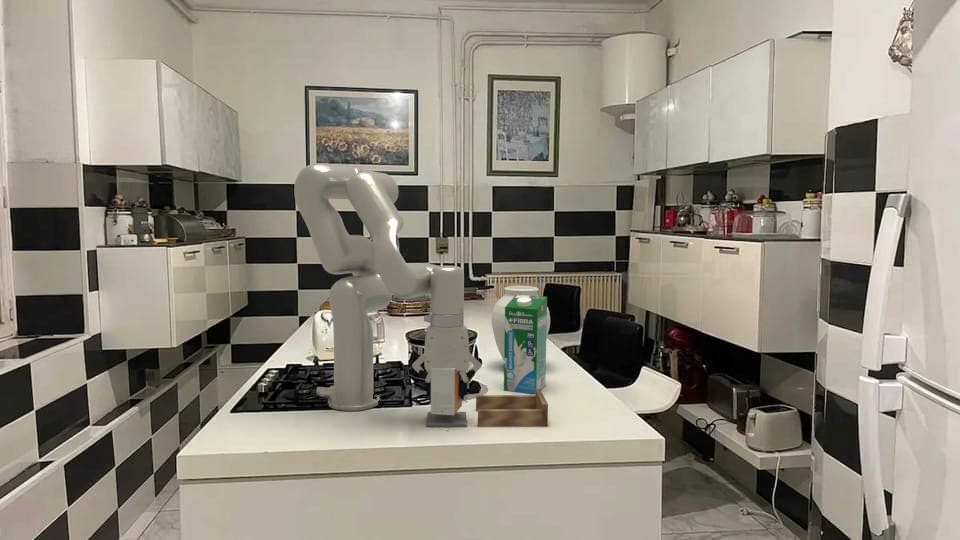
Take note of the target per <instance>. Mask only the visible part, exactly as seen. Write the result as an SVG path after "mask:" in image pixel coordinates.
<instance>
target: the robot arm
mask: <svg viewBox="0 0 960 540" xmlns="http://www.w3.org/2000/svg"><path fill="white" fill-rule="evenodd" d="M293 191H294V193H293V194H294V200H295V204H296V206H297V209H298V211H299V212H300V215H301V217H302V219H303V221H304V223H305V225H306V228H307V229H308V231H309V232H308V233H309V236H310V238H311V241H312V243H313V246H314V248H315V251H316V253H317V256H318V258H319V261H320V263H321V266H322V267H323V269H324V270H325V271H326V272H327V273H328V274H331V275H345V274H352V275H351V276H346V277H343V278H340V279H339V280H337V281H336V282H335V283H334V284H333V285H332V286H331V288H330V290H329V294H328V301H329V302H328V303H329V308H330V312H331V318H332V326H333V328H332V329H333V374H334V375H333V378H334V379H333V382H334V383H333V385H330V386H329V387H325V386H317V387H316V395H317V396H319V397H324V398H325V397H328V400H327V405H328V404H329V405H328V406H329V407H330V408H331V409H333V410H338V411H346V412H347V411H349V412H352V411H353V412H355V411H364V410H369V409H372V408H374V407H377V406H378V405H379V404H378V401H379V400H380V401H381V398H380V396H379V395H377V396H378V397H377V398H376V399H377V400H376V399H373V394H374V330H373V326H372V322H371V319H370V318H369V313H372V312H373V313H374V312H378V311H381V310H383V309H385V308H387V307H388V306H389V304H390V303H391V301H392V298H393V296H394V297H396V298H398V299H401V300H407V299H408V300H409V299H413V298H417V297H418V298H419V297H425V296H430V300H429V301H430V302H429V303H430V305H429V306H430V313H429V314H427V315H424V316H423V322H426V323H429V324H430V325H427V327H426V330H425V331H426V332H425V339H424V352H423V354H422V355H421V356H420V357H418V358H417V359H416V360H415V361H414V362H413V363H412V369H414V371H416V373H418V376H420V377H421V379H423V380H424V381H425V383H426V396H429V401H431V368H456V371H457V372H459V373H460V375H461V377H462V380H461V399H462V401H463V400H465V396H468V383H469V380H471V379H472V378H473V377H474V376H475V374H476V373H477V372H478V371H479V370H480V369H481V368H482V366H483V365H482V363H481V362H480V360H478V359H477V358H476V357H475V356H474V355H473V354H472V353H471V352H470V339H469V338H470V337H469V332H468V327H467V326H466V325H464V318H465V317H464V316H465V313H464V311H465V308H464V307H465V306H464V305H465V299H464V297H465V273H464V270H463V268H462V267H460V266H458V265H437V264H434V263H426V262H424V263H423V262H421V263H411V264H407V262H406V260H405V259H404V257H403V256H402V254H401V252H400V250H399V248H398V245H397V234H399V233H400V231H401V230H402V229H403V227H404V225H405V224H404V223H405V221H404V218H403V217H402V216H401V214H400V212H399V211H398V209H397V207H396V205H395V203H396V201H397V200H398V198H399V186H398V183H397V182H396V180H395V179H394V178H393V177H392V176H391V175H390V174H388V173H383V172H378V171H374V170H368V169H364V168H360V167H356V166H355V167H354V166H351V165H350V166H349V165H340V164H332V163H324V162H321V163H320V162H319V163H318V162H317V163H312V164H309V165H306V166H304V167H303V168H302V169H300V171H299V173H298V174H297V176H296V179H295V182H294V189H293ZM329 199H331V200H334V199H336V200H349V202H350V204H351V206H352V207H353V209H354V210H355V213H356V214H357V215H358V217H359V219H360V220H361V223H363V225H364V227H365V229H366V231H367V232H368V233H369V235H370V237H371V240H370V239H369V238H368V237H366V236H363V235H360V234H356V235H355V234H352V235H351V234H349V232H348V231H347V228H346V227H345V225H344V221H343V218H342V217H341V215H340V213H339V212H338V210H336V208H335V207H334V206H333V205H332V204H331V202H330V200H329ZM423 363H424V366H423V367H424V369H423V367H422V366H421V365H422V364H423ZM470 363H471V364H472V365H473V366H472V367H471V368H470ZM469 368H470V369H469ZM330 399H331V400H330Z"/></svg>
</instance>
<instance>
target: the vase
mask: <svg viewBox="0 0 960 540" xmlns="http://www.w3.org/2000/svg"><path fill="white" fill-rule="evenodd" d="M503 289H504V291H505V293H504V294H503V296H502V297H501V298H500V299H499V300H498V301H496V303H495V306H494V308H493V310H492V314H491V326H492V332H493V336H494V340H495V341H494V342H495V345H496V347H497V349H498V351H499V354H500V356H501V359H502V361H504V342H505V307H506V305H507V304H508V303H509V302H510V301H511V300H512V299H513V298H514V297H515V295H529V296H539V294H538V291H540V290H539V288H538V287H536V286H531V285H508V286H505V287H504V288H503ZM550 326H551V315H550V310H549V307H548V306H547V328H546V341H547V340H548V335H549V330H550Z"/></svg>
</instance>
